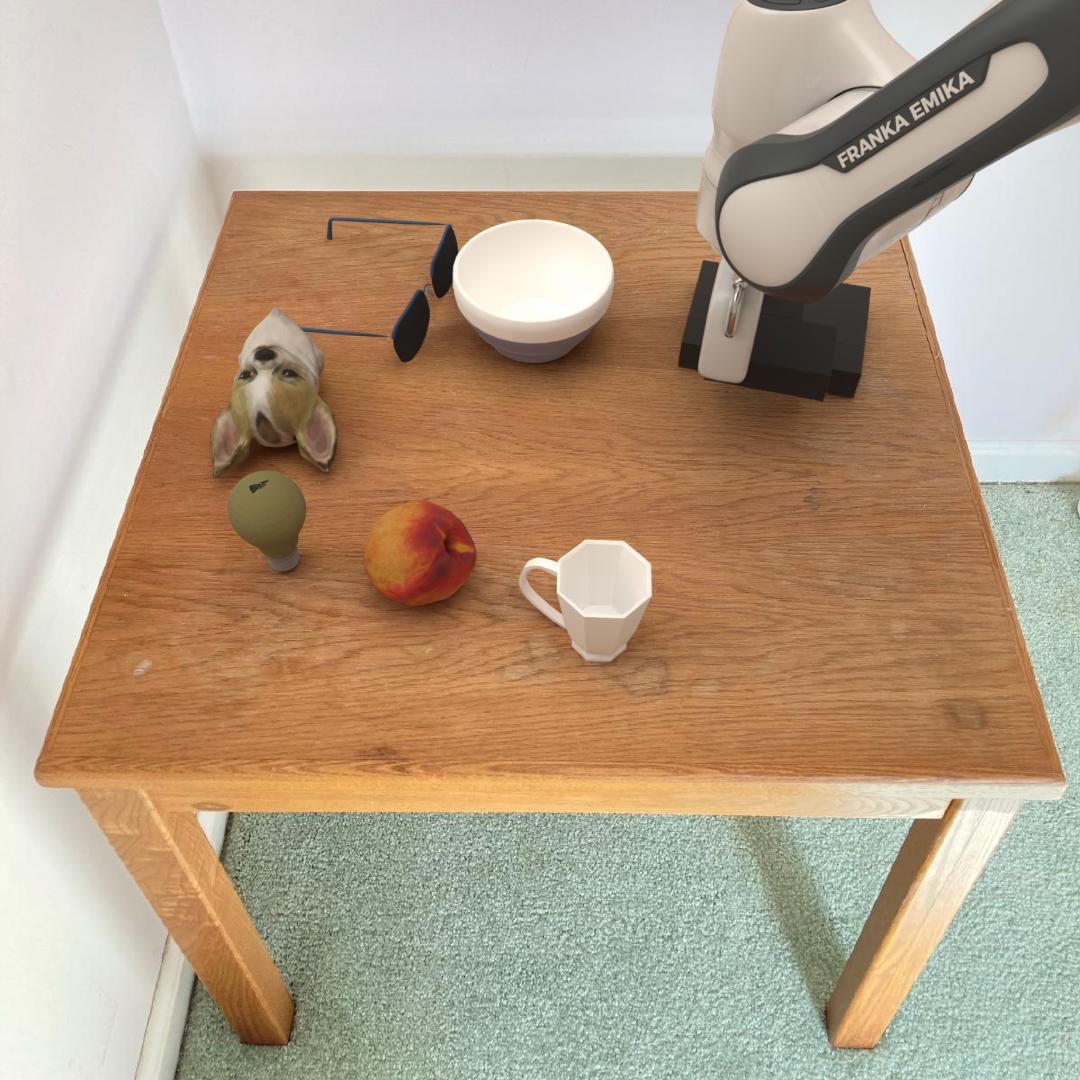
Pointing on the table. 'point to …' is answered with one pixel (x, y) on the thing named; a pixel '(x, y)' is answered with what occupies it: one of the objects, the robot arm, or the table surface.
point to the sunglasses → (417, 312)
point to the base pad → (835, 309)
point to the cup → (596, 595)
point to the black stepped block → (789, 352)
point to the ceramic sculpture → (275, 399)
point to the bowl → (533, 287)
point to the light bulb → (269, 516)
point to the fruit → (419, 553)
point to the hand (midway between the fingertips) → (728, 344)
